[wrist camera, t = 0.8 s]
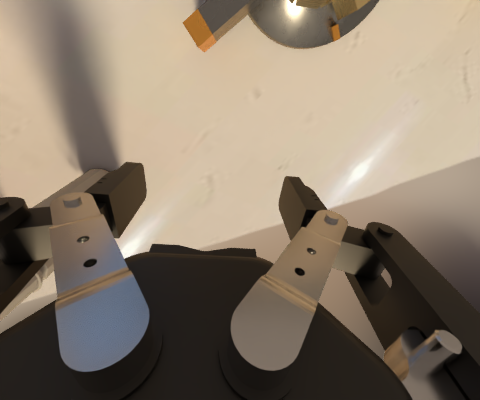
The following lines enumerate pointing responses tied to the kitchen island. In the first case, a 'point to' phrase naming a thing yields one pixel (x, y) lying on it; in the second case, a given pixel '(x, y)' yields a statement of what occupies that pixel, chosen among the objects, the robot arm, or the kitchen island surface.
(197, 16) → the segmented ring on plate
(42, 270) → the water bottle
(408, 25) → the kitchen island surface
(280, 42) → the housing
